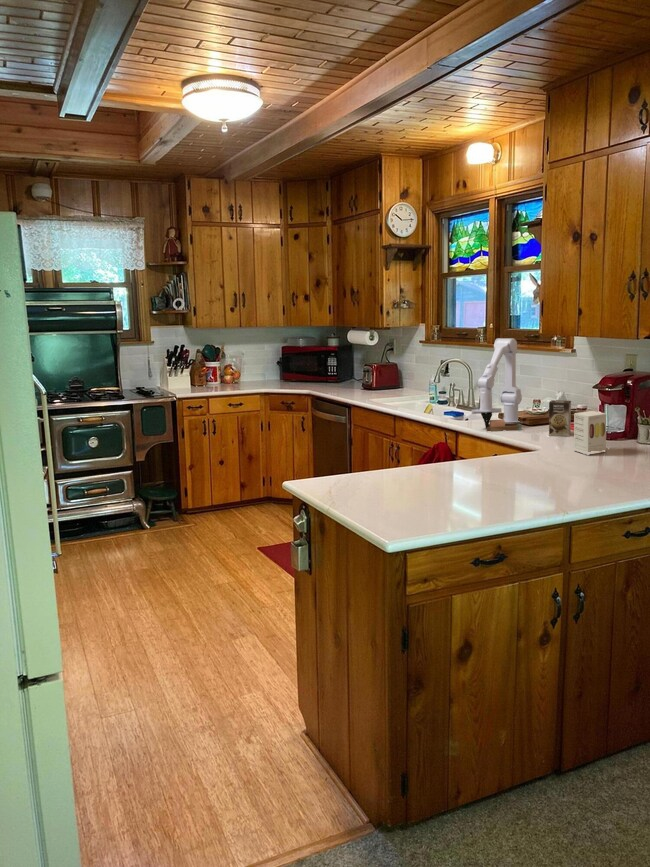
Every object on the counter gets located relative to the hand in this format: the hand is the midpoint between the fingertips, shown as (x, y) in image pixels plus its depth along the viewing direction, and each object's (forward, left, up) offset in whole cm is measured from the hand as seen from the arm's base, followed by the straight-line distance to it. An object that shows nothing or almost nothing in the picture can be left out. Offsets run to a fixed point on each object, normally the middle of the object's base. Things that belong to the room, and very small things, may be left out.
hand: (486, 427), depth 351 cm
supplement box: (+52, +38, -2) cm, 64 cm away
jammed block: (0, +5, -1) cm, 5 cm away
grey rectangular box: (+18, +32, -2) cm, 37 cm away
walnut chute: (0, +8, -1) cm, 8 cm away
